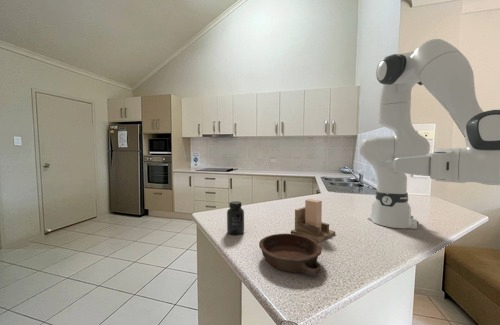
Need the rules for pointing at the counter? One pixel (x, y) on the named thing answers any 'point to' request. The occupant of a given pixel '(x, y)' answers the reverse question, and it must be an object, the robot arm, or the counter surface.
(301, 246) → the dish
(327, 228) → the tan railed base plate
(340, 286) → the counter surface
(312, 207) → the clay block
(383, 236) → the counter surface
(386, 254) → the counter surface
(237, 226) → the supplement bottle
